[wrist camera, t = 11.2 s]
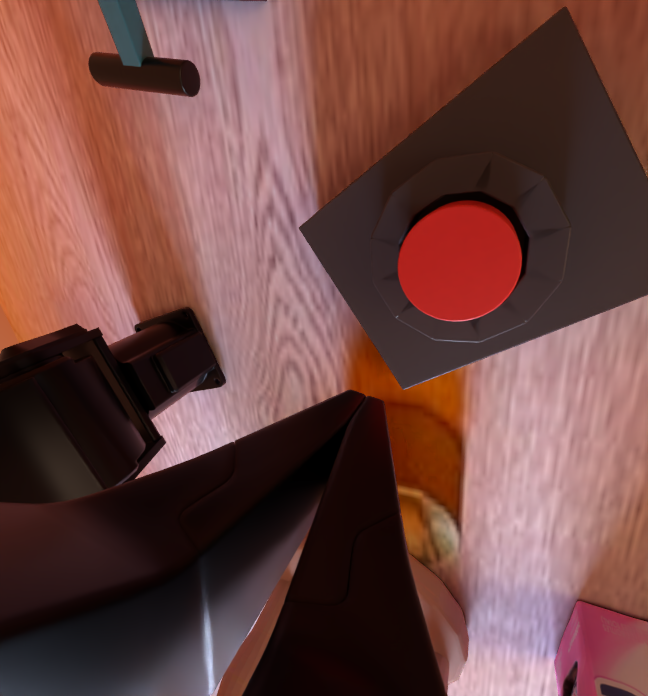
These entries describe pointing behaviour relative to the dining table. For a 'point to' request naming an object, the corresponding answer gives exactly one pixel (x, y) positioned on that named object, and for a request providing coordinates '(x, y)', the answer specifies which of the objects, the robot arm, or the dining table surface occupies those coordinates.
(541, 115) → the button box
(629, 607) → the dining table surface
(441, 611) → the hourglass
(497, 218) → the button
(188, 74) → the lever
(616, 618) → the gum box
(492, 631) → the dining table surface
